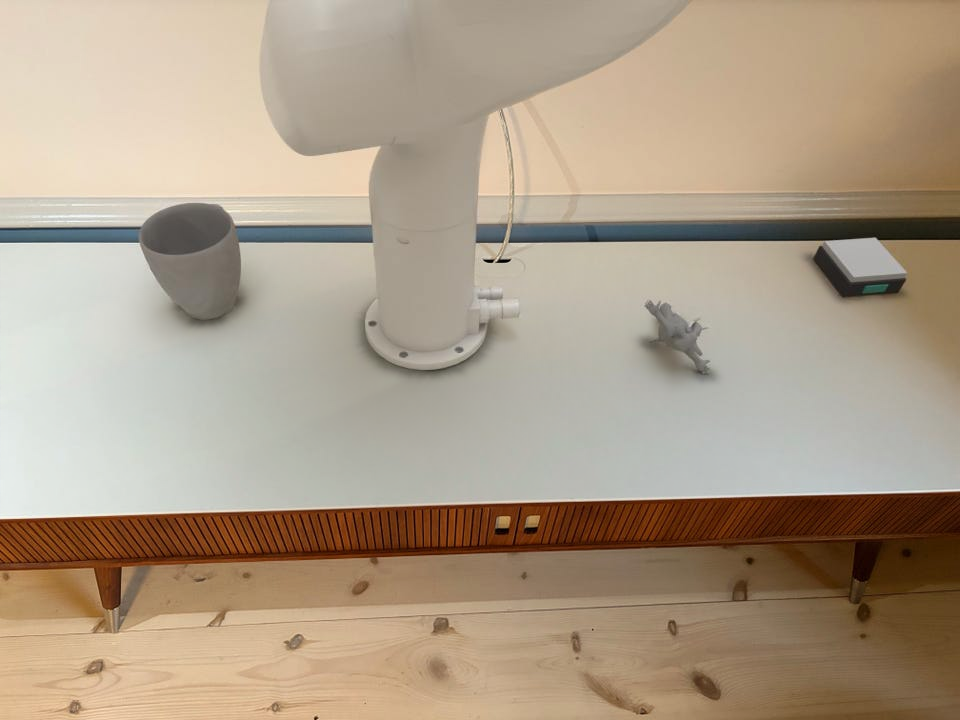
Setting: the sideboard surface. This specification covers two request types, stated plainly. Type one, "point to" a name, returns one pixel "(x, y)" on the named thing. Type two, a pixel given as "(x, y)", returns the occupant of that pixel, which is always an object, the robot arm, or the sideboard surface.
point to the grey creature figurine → (678, 332)
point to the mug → (194, 257)
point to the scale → (860, 267)
